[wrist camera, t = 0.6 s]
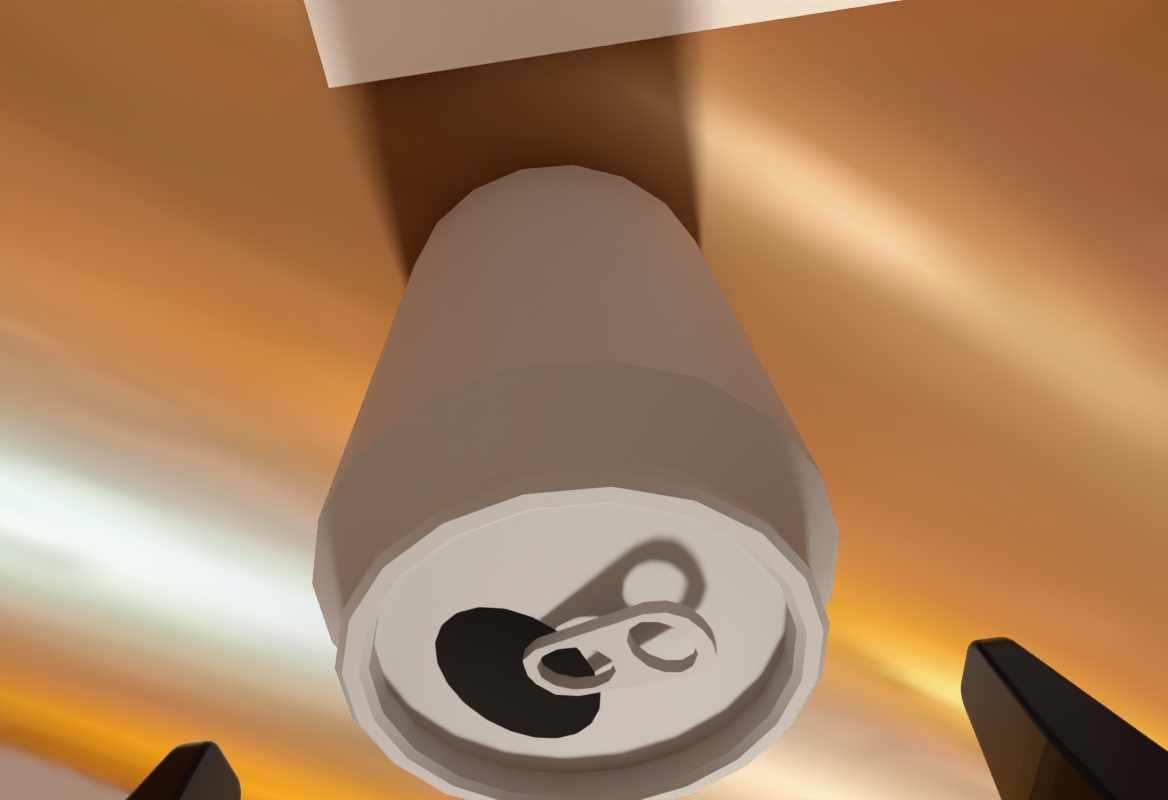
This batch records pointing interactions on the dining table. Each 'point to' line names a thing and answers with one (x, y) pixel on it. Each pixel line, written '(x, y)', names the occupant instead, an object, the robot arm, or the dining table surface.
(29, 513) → the dining table surface
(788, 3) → the platter
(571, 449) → the can
